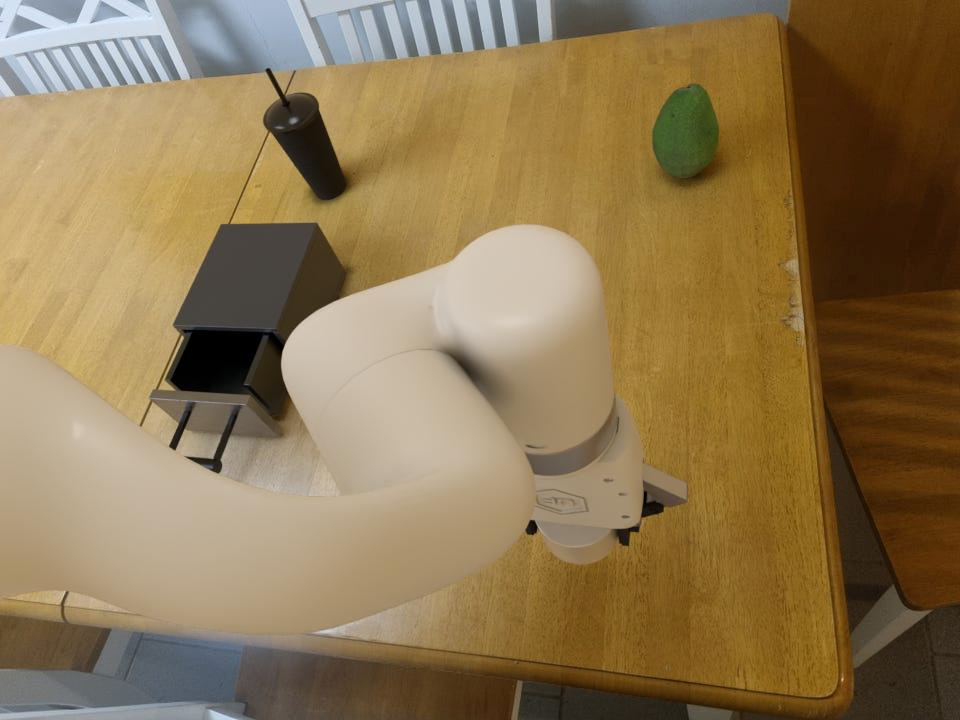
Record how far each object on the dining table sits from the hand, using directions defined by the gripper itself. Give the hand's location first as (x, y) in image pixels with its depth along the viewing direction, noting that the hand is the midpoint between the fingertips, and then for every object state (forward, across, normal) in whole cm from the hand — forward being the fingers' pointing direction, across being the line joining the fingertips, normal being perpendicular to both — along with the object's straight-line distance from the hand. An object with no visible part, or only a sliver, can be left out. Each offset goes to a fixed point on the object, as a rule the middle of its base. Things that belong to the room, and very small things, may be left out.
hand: (579, 521), depth 56 cm
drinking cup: (+14, -44, +51) cm, 69 cm away
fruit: (+14, +6, +53) cm, 55 cm away
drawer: (+14, -43, +15) cm, 48 cm away
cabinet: (+14, -43, +28) cm, 53 cm away
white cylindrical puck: (+1, 0, 0) cm, 1 cm away
